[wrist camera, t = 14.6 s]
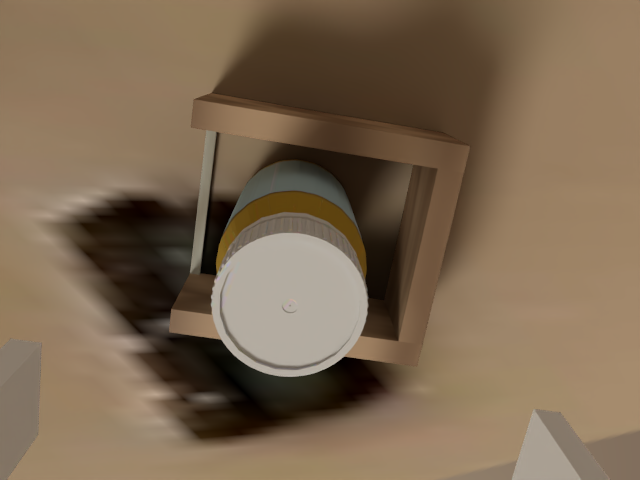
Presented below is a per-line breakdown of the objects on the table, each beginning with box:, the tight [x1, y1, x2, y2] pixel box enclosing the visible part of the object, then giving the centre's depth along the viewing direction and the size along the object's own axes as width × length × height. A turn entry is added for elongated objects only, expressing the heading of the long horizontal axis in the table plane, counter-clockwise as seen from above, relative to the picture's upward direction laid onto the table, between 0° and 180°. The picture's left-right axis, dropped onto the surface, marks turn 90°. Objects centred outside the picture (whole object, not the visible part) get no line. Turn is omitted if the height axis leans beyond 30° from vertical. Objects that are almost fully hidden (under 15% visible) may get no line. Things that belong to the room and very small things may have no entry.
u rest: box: [169, 93, 470, 366], centre depth 34 cm, size 14×13×6 cm
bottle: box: [211, 159, 369, 377], centre depth 30 cm, size 7×7×15 cm
